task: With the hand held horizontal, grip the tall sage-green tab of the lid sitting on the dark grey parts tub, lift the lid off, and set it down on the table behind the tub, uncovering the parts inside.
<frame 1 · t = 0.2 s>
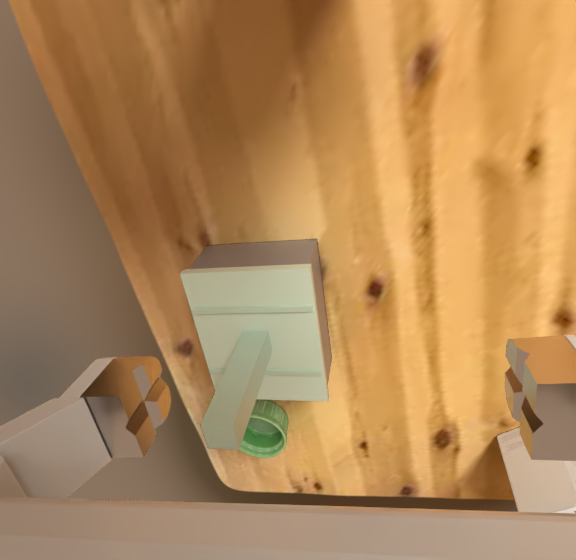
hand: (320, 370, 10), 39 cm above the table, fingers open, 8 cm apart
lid: (260, 335, 51), point 7 cm above the table, touching tub
tub: (272, 303, 57), on the table
ramekin: (264, 414, 69), on the table
supplement box: (532, 440, 61), on the table
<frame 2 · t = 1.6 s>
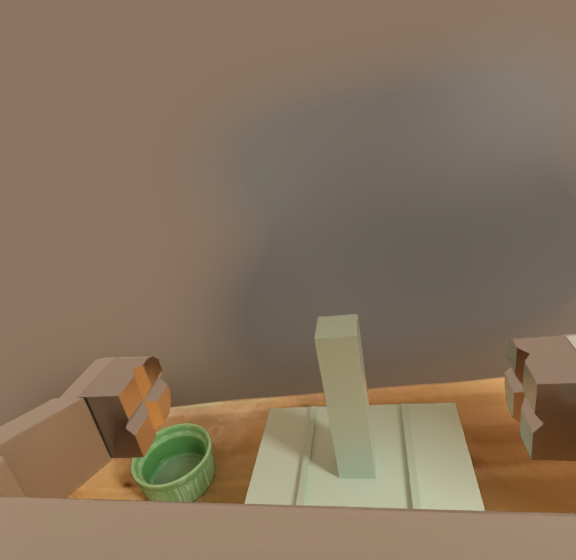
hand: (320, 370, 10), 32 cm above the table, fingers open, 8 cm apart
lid: (359, 472, 38), point 7 cm above the table, touching tub
ramekin: (182, 481, 50), on the table
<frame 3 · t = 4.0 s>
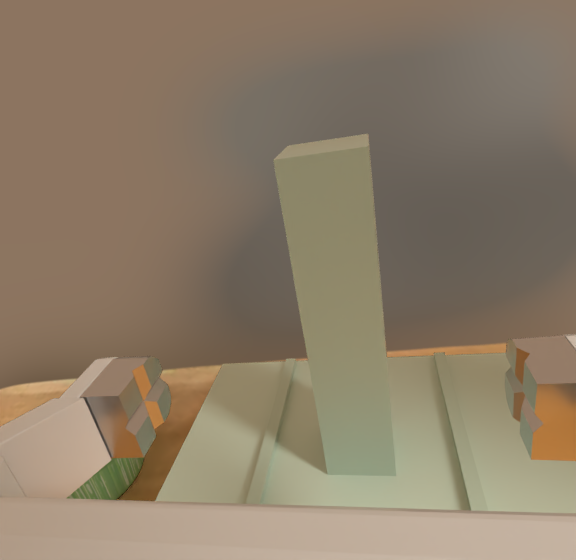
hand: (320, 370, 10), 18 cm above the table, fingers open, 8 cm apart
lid: (363, 464, 21), point 7 cm above the table, touching tub
ramekin: (93, 477, 33), on the table
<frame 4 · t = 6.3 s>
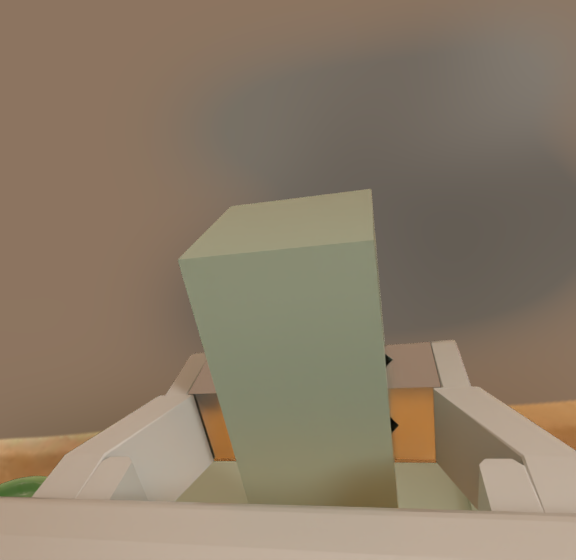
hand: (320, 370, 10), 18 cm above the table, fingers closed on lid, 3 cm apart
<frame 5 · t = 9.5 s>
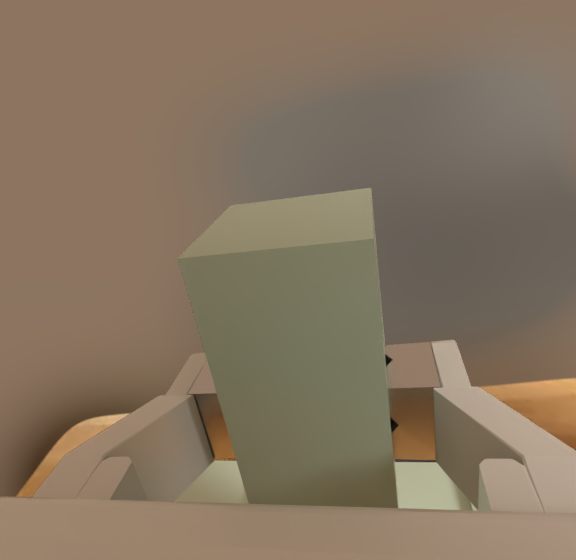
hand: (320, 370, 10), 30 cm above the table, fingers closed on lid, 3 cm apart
when the fingers open (12 cm above the table, at t = 12.7 s): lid drops 2 cm, on the table.
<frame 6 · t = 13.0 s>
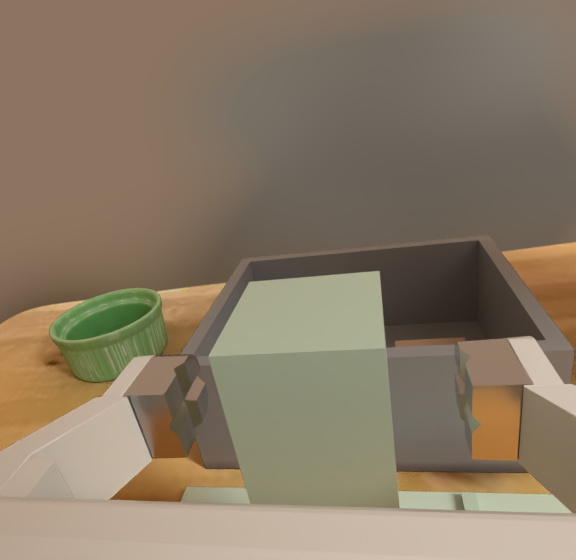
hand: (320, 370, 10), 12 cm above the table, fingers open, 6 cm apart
tub: (366, 383, 29), on the table
ramekin: (123, 357, 38), on the table
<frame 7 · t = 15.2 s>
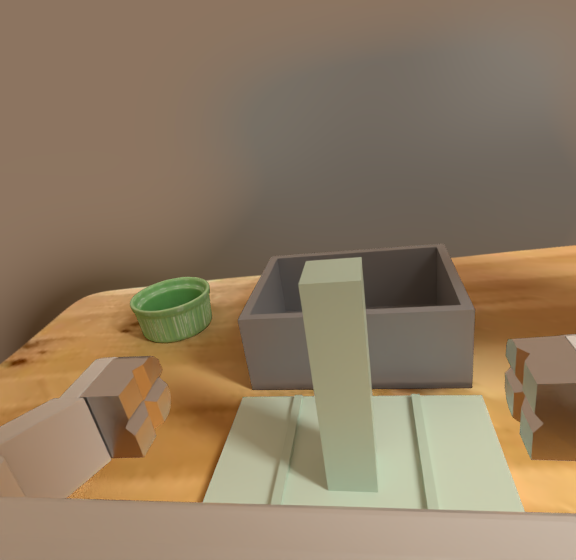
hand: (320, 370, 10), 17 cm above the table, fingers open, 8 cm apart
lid: (354, 482, 28), on the table
tub: (358, 342, 42), on the table
ramekin: (179, 327, 51), on the table
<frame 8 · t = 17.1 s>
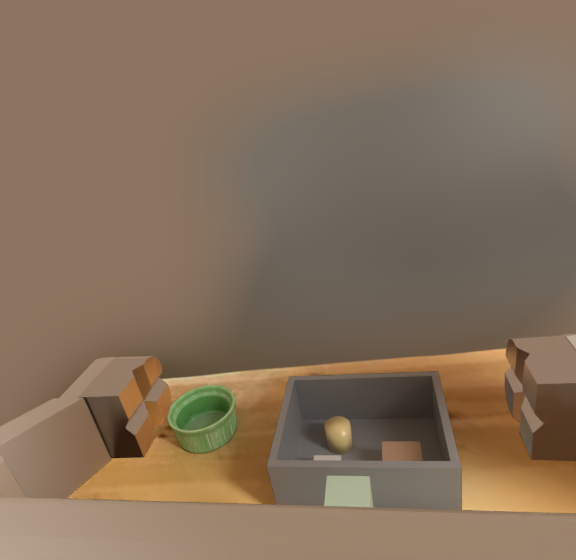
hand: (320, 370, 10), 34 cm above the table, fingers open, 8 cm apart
tub: (366, 461, 49), on the table
ramekin: (209, 432, 58), on the table
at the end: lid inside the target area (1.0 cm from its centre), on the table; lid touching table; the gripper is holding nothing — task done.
